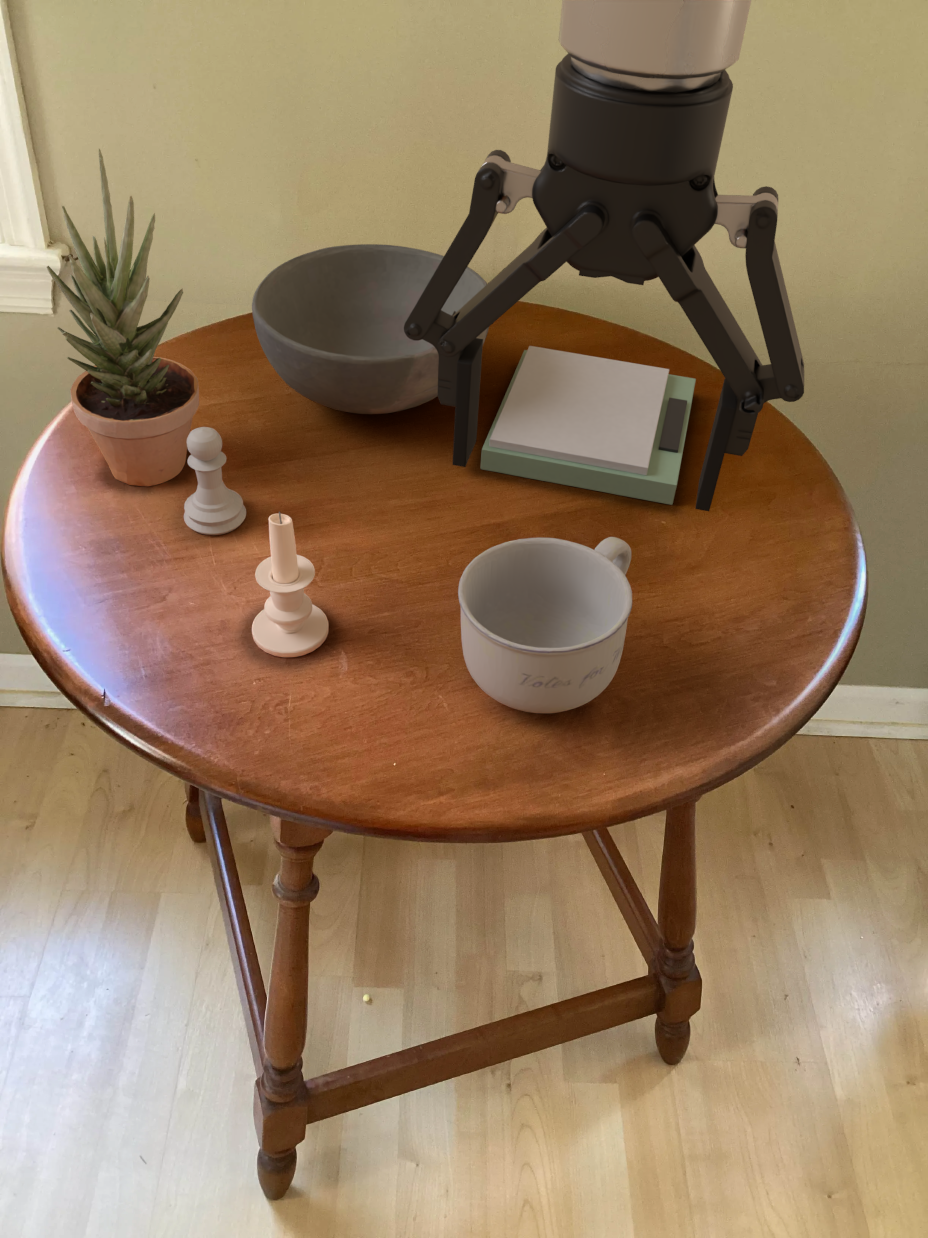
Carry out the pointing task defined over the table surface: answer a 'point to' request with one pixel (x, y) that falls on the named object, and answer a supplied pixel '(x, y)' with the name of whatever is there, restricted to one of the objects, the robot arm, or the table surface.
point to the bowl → (354, 325)
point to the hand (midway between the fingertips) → (582, 474)
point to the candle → (287, 597)
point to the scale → (592, 425)
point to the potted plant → (126, 358)
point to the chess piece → (211, 487)
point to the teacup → (545, 621)
